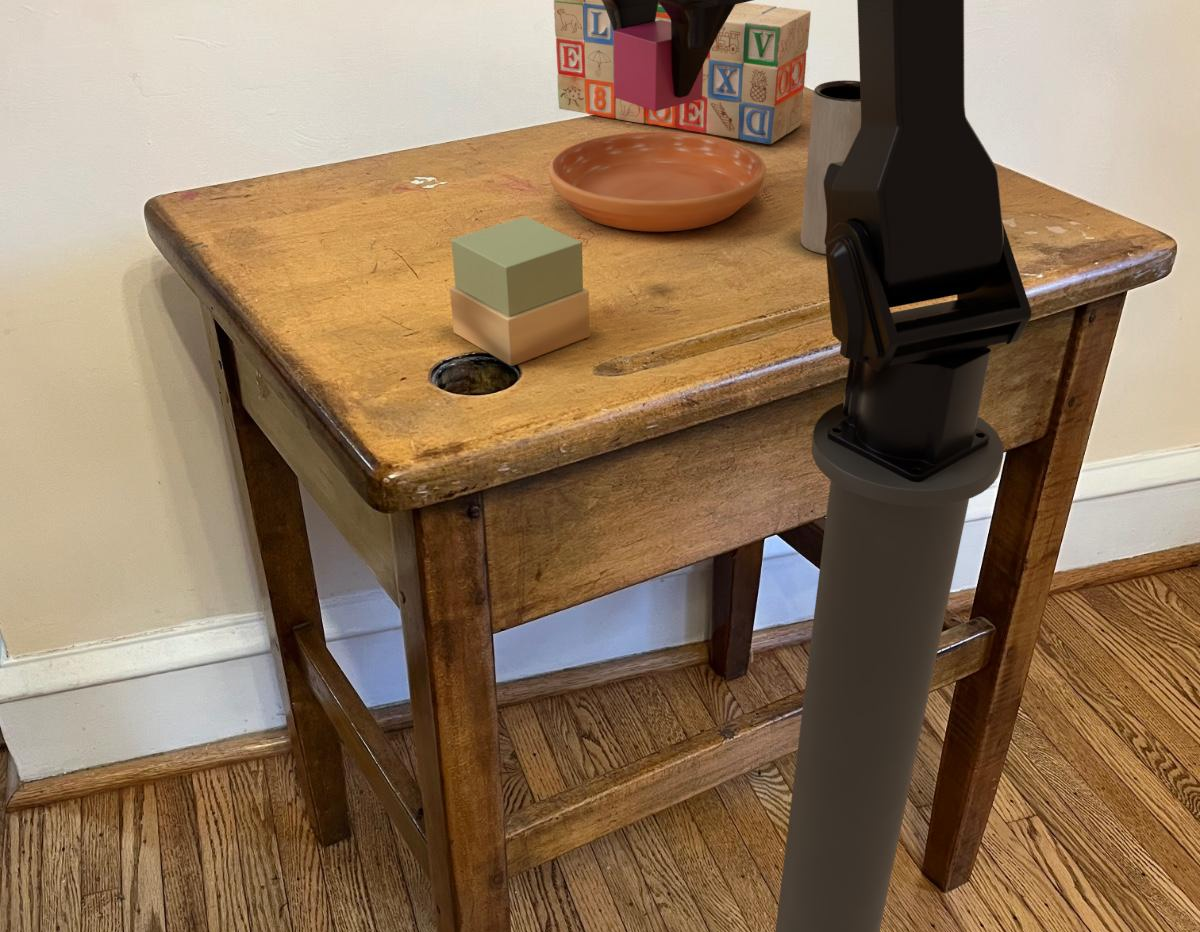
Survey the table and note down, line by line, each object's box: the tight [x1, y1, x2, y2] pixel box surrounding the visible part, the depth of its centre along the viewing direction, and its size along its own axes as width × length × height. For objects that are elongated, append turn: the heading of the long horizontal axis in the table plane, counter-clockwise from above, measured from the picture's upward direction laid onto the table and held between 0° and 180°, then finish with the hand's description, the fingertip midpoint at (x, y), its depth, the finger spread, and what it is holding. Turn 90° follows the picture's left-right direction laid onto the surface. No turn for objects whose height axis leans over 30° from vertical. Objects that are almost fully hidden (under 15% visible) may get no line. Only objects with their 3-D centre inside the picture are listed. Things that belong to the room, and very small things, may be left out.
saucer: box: [548, 131, 767, 233], centre depth 92 cm, size 16×16×3 cm
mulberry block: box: [614, 20, 703, 111], centre depth 87 cm, size 4×4×4 cm
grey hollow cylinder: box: [800, 79, 861, 255], centre depth 83 cm, size 4×4×10 cm
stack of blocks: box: [553, 0, 812, 145], centre depth 105 cm, size 21×6×12 cm, turn 58°
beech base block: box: [449, 285, 591, 367], centre depth 75 cm, size 6×6×3 cm
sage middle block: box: [450, 215, 584, 316], centre depth 73 cm, size 6×6×3 cm
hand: (658, 89), depth 88 cm, fingers closed on mulberry block, 4 cm apart
